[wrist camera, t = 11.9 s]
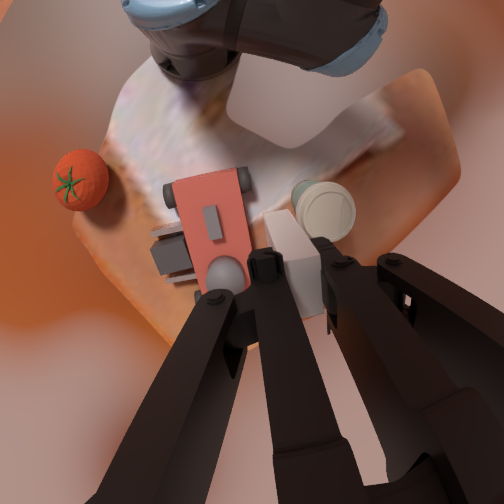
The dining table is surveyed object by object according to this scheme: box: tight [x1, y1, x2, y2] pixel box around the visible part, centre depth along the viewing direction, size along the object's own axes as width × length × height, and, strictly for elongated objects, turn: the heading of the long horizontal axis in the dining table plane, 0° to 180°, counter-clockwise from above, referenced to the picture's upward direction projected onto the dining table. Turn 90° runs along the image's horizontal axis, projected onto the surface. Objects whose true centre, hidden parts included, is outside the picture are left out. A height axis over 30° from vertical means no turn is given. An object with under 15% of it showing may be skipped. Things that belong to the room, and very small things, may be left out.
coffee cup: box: [291, 180, 356, 242], centre depth 41 cm, size 8×8×12 cm
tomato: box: [52, 149, 109, 211], centre depth 38 cm, size 10×10×10 cm
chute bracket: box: [150, 221, 197, 284], centre depth 48 cm, size 10×6×2 cm, turn 10°
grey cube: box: [150, 233, 193, 275], centre depth 47 cm, size 5×6×4 cm
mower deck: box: [163, 167, 252, 304], centre depth 45 cm, size 24×13×8 cm, turn 10°
